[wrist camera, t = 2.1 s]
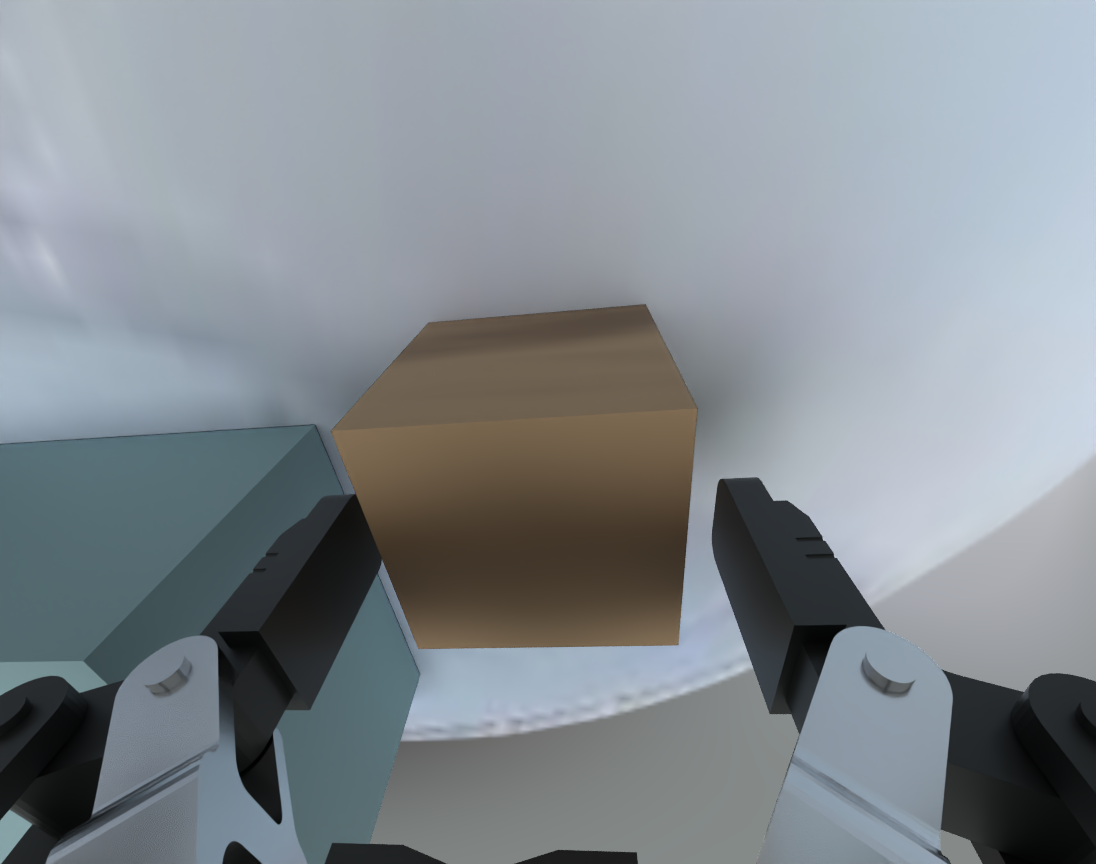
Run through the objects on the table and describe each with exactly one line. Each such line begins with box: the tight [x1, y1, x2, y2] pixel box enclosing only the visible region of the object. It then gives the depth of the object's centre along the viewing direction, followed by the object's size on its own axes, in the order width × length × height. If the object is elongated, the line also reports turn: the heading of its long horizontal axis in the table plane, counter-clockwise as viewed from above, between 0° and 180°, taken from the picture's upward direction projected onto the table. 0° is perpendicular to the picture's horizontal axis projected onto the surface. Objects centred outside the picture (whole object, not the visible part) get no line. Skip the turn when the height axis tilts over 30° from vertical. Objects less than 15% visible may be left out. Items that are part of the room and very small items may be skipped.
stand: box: [0, 425, 420, 864], centre depth 15 cm, size 14×12×8 cm
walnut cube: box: [331, 304, 697, 649], centre depth 11 cm, size 6×6×6 cm
